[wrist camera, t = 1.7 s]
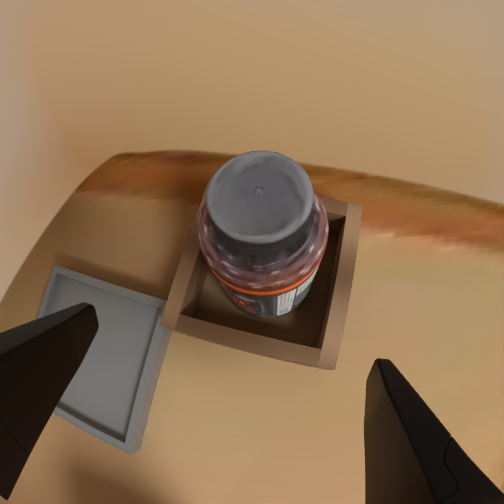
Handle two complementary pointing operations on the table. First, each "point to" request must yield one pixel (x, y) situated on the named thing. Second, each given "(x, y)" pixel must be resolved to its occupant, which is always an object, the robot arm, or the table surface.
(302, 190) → the supplement bottle
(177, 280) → the walnut collar
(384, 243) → the table surface
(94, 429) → the slate tray
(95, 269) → the table surface
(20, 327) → the robot arm
